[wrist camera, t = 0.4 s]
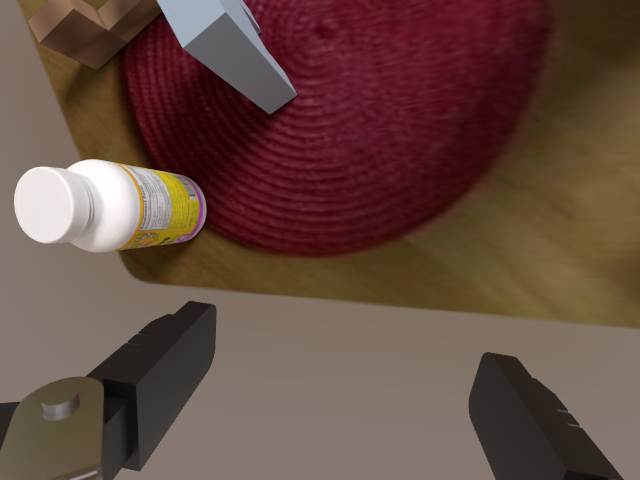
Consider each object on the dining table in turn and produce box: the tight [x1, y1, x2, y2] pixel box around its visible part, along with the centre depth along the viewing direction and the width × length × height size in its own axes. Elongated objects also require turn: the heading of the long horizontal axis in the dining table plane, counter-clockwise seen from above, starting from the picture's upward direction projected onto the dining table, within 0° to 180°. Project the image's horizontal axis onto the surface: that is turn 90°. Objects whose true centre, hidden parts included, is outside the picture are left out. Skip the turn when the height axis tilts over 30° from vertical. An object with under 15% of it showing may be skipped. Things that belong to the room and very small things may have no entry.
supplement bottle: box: [14, 160, 206, 252], centre depth 26 cm, size 7×7×13 cm
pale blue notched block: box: [157, 0, 297, 115], centre depth 23 cm, size 9×3×12 cm, turn 30°
